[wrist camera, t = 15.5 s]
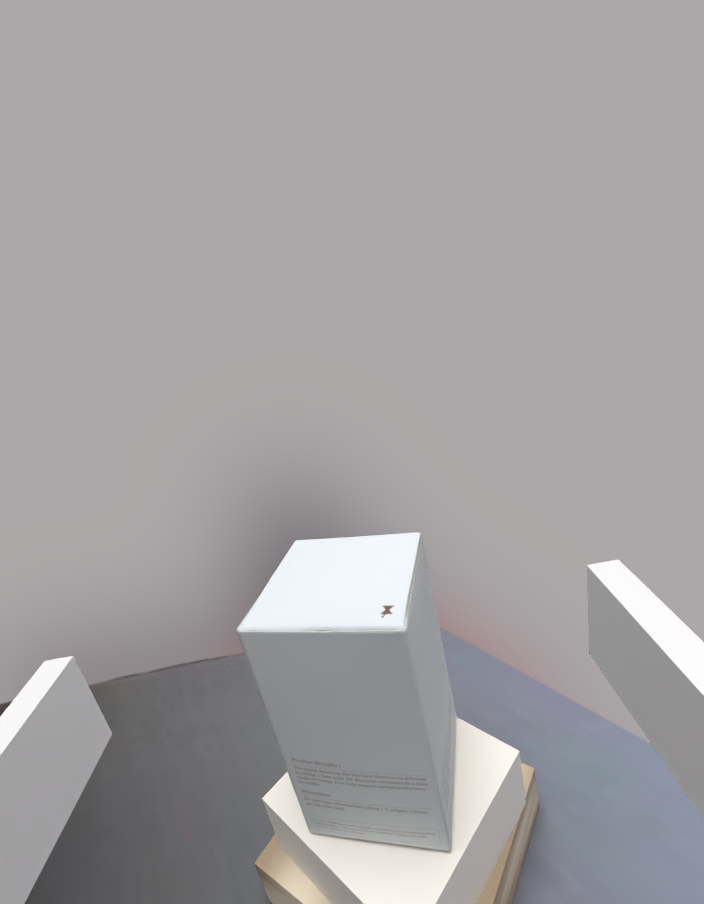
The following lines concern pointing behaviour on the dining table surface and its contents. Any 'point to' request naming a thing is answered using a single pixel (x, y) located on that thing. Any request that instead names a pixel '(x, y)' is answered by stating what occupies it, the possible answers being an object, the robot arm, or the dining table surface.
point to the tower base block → (302, 899)
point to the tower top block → (408, 867)
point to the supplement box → (358, 688)
